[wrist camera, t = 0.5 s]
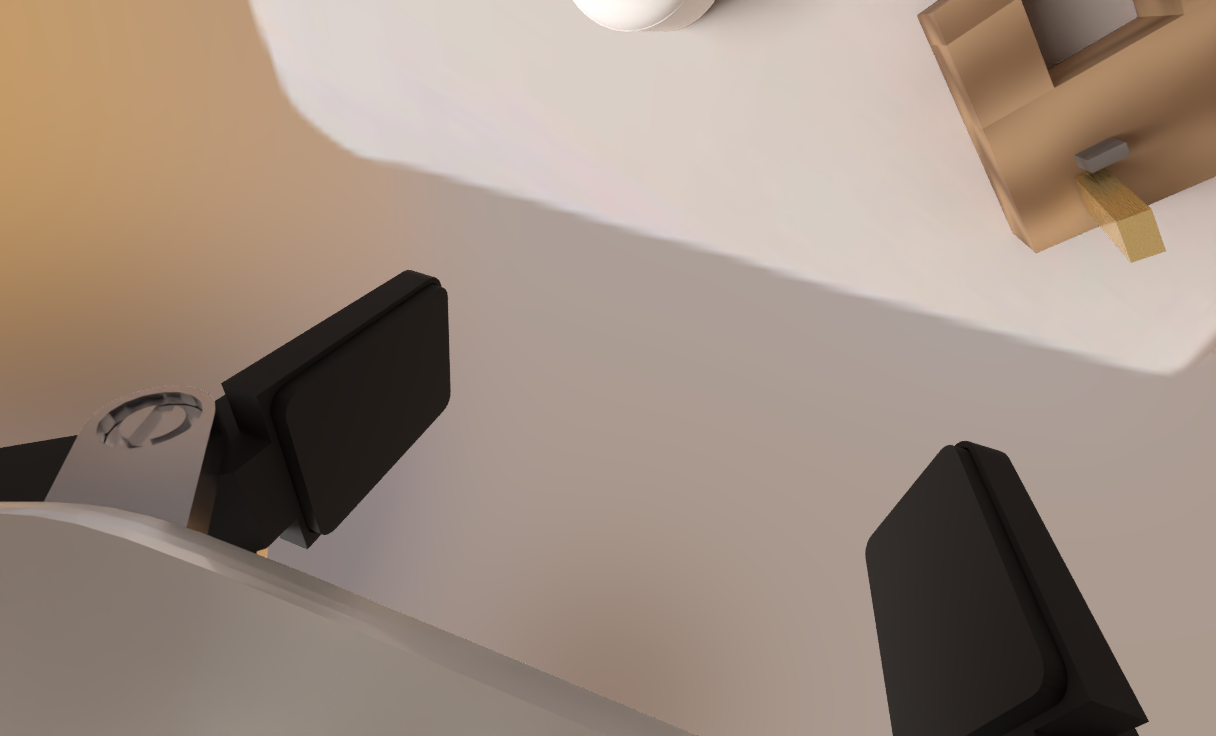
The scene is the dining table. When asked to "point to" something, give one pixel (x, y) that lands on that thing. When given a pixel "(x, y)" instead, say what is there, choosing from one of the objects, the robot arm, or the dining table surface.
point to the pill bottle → (644, 13)
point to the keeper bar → (1120, 214)
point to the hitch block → (1080, 107)
